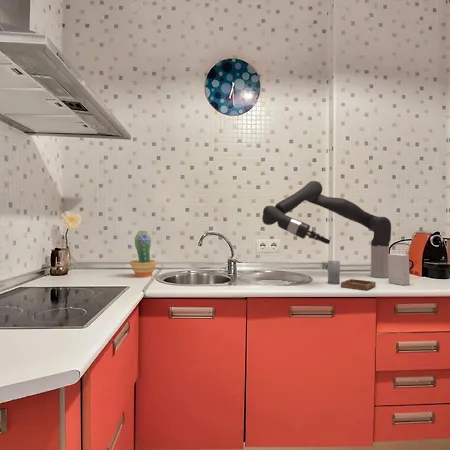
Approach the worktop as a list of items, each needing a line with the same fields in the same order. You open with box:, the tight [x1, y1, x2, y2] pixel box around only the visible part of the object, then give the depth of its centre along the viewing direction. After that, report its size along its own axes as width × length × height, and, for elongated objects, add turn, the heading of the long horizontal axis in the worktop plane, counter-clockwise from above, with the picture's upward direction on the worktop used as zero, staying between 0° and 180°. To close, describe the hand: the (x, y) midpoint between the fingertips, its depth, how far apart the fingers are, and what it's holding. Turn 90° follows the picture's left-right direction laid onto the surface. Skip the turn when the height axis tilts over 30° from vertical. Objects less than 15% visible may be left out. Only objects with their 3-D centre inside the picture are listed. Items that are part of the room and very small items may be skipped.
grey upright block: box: [327, 260, 341, 285], centre depth 185 cm, size 6×6×11 cm
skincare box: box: [387, 253, 411, 286], centre depth 185 cm, size 8×6×15 cm
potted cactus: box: [128, 230, 158, 278], centre depth 205 cm, size 15×15×25 cm
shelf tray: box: [340, 278, 377, 292], centre depth 176 cm, size 12×12×2 cm
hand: (328, 242), depth 181 cm, fingers open, 8 cm apart
